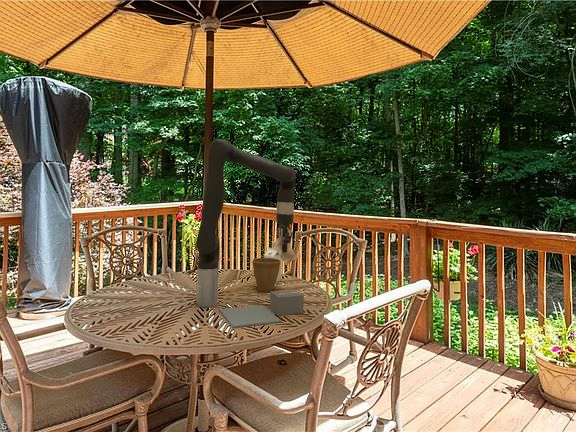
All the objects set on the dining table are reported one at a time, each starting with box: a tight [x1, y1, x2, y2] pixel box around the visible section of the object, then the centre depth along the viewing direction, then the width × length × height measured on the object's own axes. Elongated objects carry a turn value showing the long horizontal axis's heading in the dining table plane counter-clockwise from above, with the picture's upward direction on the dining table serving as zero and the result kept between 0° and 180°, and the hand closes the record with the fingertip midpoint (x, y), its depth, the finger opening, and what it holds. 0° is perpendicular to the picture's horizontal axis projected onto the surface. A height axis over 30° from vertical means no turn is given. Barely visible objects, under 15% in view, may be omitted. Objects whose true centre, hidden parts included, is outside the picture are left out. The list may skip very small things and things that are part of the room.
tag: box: [271, 236, 298, 266], centre depth 178 cm, size 6×2×12 cm
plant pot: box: [251, 257, 282, 293], centre depth 213 cm, size 15×15×16 cm
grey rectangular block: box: [269, 288, 305, 317], centre depth 180 cm, size 12×10×9 cm
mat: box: [219, 304, 282, 329], centre depth 172 cm, size 20×22×1 cm
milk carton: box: [263, 247, 282, 283], centre depth 233 cm, size 7×7×19 cm
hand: (283, 251), depth 178 cm, fingers closed on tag, 1 cm apart
